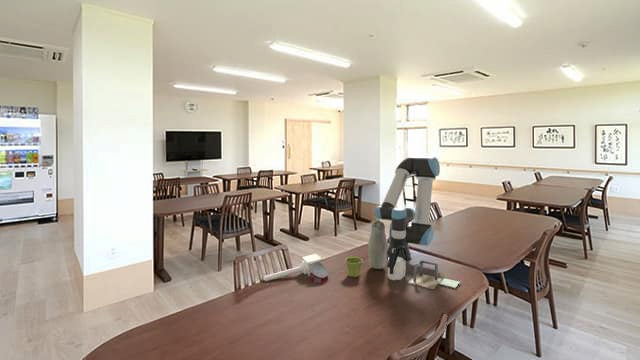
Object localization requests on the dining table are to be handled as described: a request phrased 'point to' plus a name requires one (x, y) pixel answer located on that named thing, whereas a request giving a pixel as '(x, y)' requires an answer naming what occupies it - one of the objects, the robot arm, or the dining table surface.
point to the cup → (398, 268)
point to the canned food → (318, 273)
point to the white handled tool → (296, 268)
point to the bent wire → (422, 269)
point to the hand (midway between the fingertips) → (397, 275)
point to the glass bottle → (377, 245)
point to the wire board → (425, 281)
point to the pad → (449, 283)
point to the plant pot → (354, 266)
